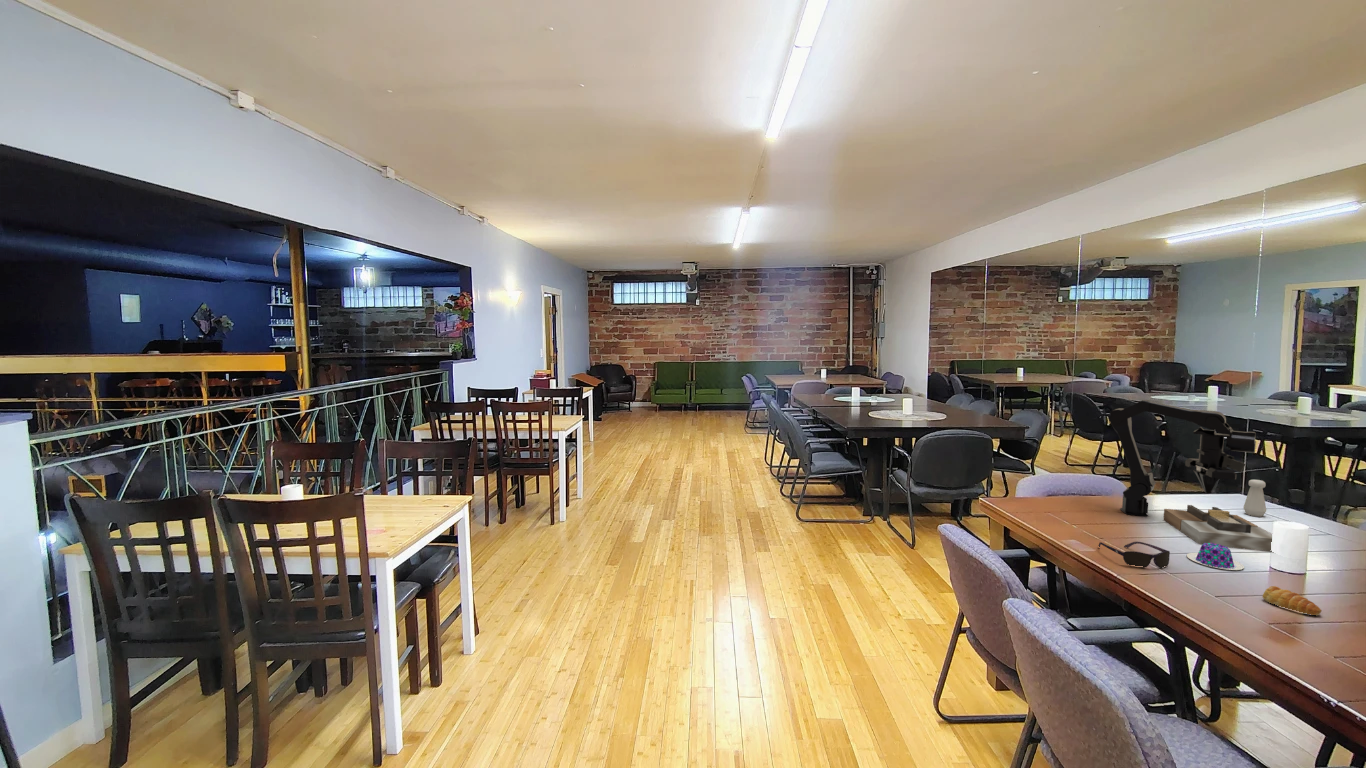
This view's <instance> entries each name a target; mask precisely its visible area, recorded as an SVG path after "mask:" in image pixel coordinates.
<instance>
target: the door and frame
mask: <svg viewBox="0 0 1366 768" xmlns="http://www.w3.org/2000/svg"><path fill="white" fill-rule="evenodd" d="M1211 510H1221V511H1224V509H1223V510H1222V509H1221V508H1219V507H1217V506H1212V507H1211ZM1207 517H1208V519H1207ZM1229 517H1230V518H1232V519H1234V520H1236V521H1238V522H1239V523H1229V522H1221V521H1219V520H1217V519H1216V518H1214V517H1211V516H1208V511H1205V512H1204V511H1203V510H1202V509H1200V508H1198V507H1195V506H1194V505H1192V504H1187V508H1186V510H1183V509H1182V510H1181V509H1170V508H1164V511H1163V521H1165V522H1167V523H1168V524H1169V525H1171V526H1172V527H1173V528H1175V529H1176V530H1178V531H1180V532H1181V533H1183V534H1184V535H1185V536H1187V537H1189V538H1190V539H1191V540H1192V541H1194V542H1196V543H1197V544H1199V545H1202V544H1203V543H1214V544H1219V545H1222V546H1226V547H1227V548H1233V547H1234V548H1233V549H1235V548H1237V549H1243V548H1245V550H1246V549H1247V550H1252V551H1253V550H1256V551H1261V552H1262V551H1265V552H1271V551H1270V550H1271V542H1272V534H1273V533H1272V532H1270V531H1268V530H1267V529H1265V528H1262V527H1261V526H1258V525H1257V524H1255V523H1253V522H1250V521H1249V520H1247V519H1245V518H1244V517H1242V516H1239V515H1238V514H1230V513H1229ZM1240 523H1241V524H1240Z"/></svg>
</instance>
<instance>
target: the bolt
mask: <svg viewBox="0 0 1366 768" xmlns="http://www.w3.org/2000/svg"><path fill="white" fill-rule="evenodd" d="M1221 510H1222V509H1221ZM1221 510H1212V509H1209V508H1208V509H1207V512H1208V516H1211V517H1214V518H1216V519H1217V520H1219V521H1221V522H1229V523H1239V522H1238V521H1236V520H1234V519H1232V518H1230V517H1229V514H1230V511H1228V510H1223V511H1221ZM1207 519H1208V517H1207ZM1240 524H1241V523H1240Z"/></svg>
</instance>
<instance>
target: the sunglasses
mask: <svg viewBox="0 0 1366 768" xmlns="http://www.w3.org/2000/svg"><path fill="white" fill-rule="evenodd" d="M1136 544H1138V545H1143V546H1147V547H1150V548H1152V549H1155V550H1157V551H1159V552H1158V553H1156V554H1149V553H1145V552H1140V551H1134V550H1132V551H1131V550H1130V551H1129V550H1127V551H1121V550H1119V549H1117V548H1115V547H1112V546H1110V545H1108V544H1105V543H1104V542H1101V541H1100V542H1099V543H1098V546H1099V547H1100V548H1101V545H1102V546H1103V547H1104V548H1107V549H1109V550H1110V551H1113V552H1114V553H1116V554H1118V555H1120V556H1122V559H1123V560H1124V563H1125V564H1126V565H1128V564H1129V565H1135V566H1143V567H1146V568H1147V567H1149V566H1150V564H1151V561H1153V563H1154V565H1155V566H1156V567H1157V568H1159V567H1164V566H1167V565H1168V566H1169V563H1170V554H1171V552H1170V550H1167V549H1164V548H1162V547H1159V546H1157V545H1153V544H1150V543H1146V542H1141V541H1133V542H1130V543H1127V544H1125V545H1123V547H1127V548H1126V549H1129V548H1130V547H1132V546H1134V545H1136ZM1098 546H1097V547H1098ZM1129 565H1128V566H1129ZM1168 566H1167V567H1168Z"/></svg>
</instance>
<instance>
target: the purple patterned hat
mask: <svg viewBox="0 0 1366 768" xmlns="http://www.w3.org/2000/svg"><path fill="white" fill-rule="evenodd" d="M1232 554H1233V553H1232V551H1231V549H1230V547H1226V546H1222V545H1219V544H1214V543H1203V544H1201V546H1200V548H1199V550H1198V552H1188V553H1187V554H1186V557H1187V558H1188V559H1190V561H1193V562H1195V563H1198V564H1201V565H1204V566H1206V567H1211V568H1216V569H1218V567H1223V568H1219V569H1220V570H1227V571H1231V570H1232V571H1239V570H1244V568H1245V566H1244V564H1242V563H1240V561H1239V562H1238V561H1237V560H1235V559H1233V555H1232ZM1202 563H1203V564H1202ZM1206 564H1207V565H1206ZM1234 564H1235V565H1236V566H1237V567H1236V568H1235V566H1234ZM1208 565H1209V566H1208ZM1212 566H1214V567H1212ZM1228 568H1229V569H1228ZM1232 568H1235V569H1232Z"/></svg>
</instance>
